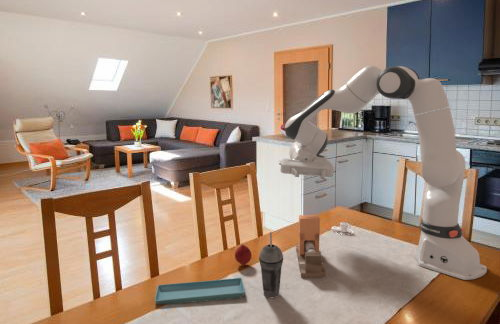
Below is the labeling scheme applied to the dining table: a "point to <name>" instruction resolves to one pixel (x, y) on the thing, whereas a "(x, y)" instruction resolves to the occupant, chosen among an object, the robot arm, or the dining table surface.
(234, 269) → the dining table surface
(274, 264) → the beverage cup
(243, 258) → the onion
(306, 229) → the orange angular piece
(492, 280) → the dining table surface
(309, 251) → the pipe rig
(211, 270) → the dining table surface
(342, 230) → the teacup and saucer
